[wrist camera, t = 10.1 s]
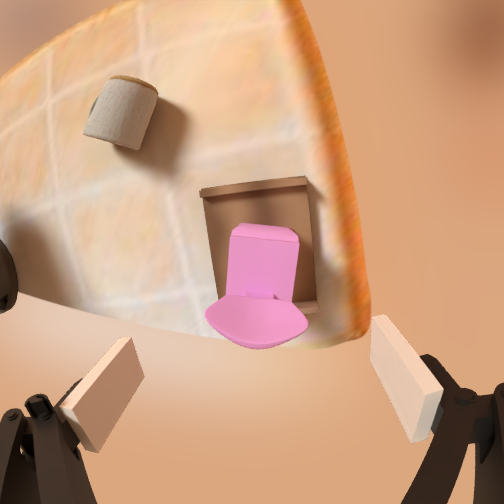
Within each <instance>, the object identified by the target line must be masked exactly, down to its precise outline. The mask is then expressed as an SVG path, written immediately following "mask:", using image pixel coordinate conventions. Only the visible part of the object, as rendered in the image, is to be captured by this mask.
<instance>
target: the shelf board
mask: <svg viewBox="0 0 504 504" xmlns="http://www.w3.org/2000/svg"><path fill="white" fill-rule="evenodd" d="M307 184H308V182H307V177H305V176H298V177H288V178H279V179H270V180H262V181H254V182H246V183H238V184H231V185H224V186H217V187H210V188H204V189H201V191H199V193H200V198H202V197H203V204H204V211H205V218H206V225H207V232H208V238H209V245H210V251H211V257H212V264H213V270H214V276H215V282H216V288H217V293H218V299H221V298H222V297H224V296H225V295H226V284H227V271H228V257H229V244H230V236H231V234H232V231H233V229H234V228H236V227H238V226H239V223H249V224H259V225H269V226H278V227H287V228H291V229H293V232H294V233H295V234H297V236H298V238H299V243H300V245H299V253H298V260H297V267H296V274H295V281H294V288H293V296H292V303H293V304H294V305H295V306H296V307H297V308H298V309H299V310H300V311H301V312H302V313H303V314H313V313H319V305H318V303H317V299H316V283H315V269H314V256H313V244H312V233H311V222H310V212H309V203H308V194H307Z"/></svg>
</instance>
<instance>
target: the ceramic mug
mask: <svg viewBox="0 0 504 504" xmlns="http://www.w3.org/2000/svg"><path fill="white" fill-rule="evenodd" d="M157 98H158V92H157V90H156V88H155V87H153V86H152V85H150V84H149V83H147V82H144V81H142V80H139V79H137V78H133V77H129V76H122V75H116V76H113V77H111V78H110V79H109V80H108V81H107V83H106V84H105V86H104V87H103V89H102V91H101V93H100V95H99V96H98V97H97V98H96V100H95V101H94V103H93V105H92V107H91V110H90V113H89V118H88V122H87V125H86V127H85V129H84V133H83V134H84V135H86V136H90V137H93V138H97V139H100V140H104V141H107V142H110V143H113V144H117V145H120V146H124V147H127V148H130V149H134V150H139V149H140V146H141V143H142V140H143V138H144V135H145V132H146V129H147V127H148V124H149V121H150V118H151V116H152V113H153V111H154V109H155V106H156V103H157Z"/></svg>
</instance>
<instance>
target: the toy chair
mask: <svg viewBox="0 0 504 504" xmlns="http://www.w3.org/2000/svg"><path fill="white" fill-rule="evenodd" d="M299 245H300V243H299V238H298V236H297V234H295V233H294V232H293V229H291V228H287V227H278V226H269V225H259V224H249V223H239V226H238V227H236V228H234V229H233V231H232V234H231V236H230V244H229V257H228V271H227V284H226V295H225V296H224V297H222V298H221V299H219V300H218V301H216V302H215V303H213V304H212V305H211V306H209V307H208V308H207V309H206V311H205V318H206V320H207V322H208V323H209V324H210V325H211V326H212V327H213V328H214V329H215V330H216V331H218V332H219V333H220V334H221V335H223V336H224V337H226V338H227V339H229V340H230V341H232V342H234V343H236V344H238V345H240V346H243V347H246V348H251V349H267V348H271V347H275V346H278V345H280V344H283V343H285V342H288V341H290V340H292V339H294V338H296V337H297V336H299V335H300V334H302V333H303V332H304V331H305V330H306V329H307V328H308V325H309V323H308V320H307V318H306V317H305V316H304V314H303V313H302V312H301V311H300V310H299V309H298V308H297V307H296V306H295V305H294V304H293V303H292V296H293V288H294V281H295V274H296V267H297V260H298V253H299Z"/></svg>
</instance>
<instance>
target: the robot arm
mask: <svg viewBox="0 0 504 504" xmlns="http://www.w3.org/2000/svg"><path fill="white" fill-rule="evenodd" d="M17 294H18V284H17V276H16V271H15V267H14V264H13V261H12V259H11V256H10V254H9V252H8V250H7V248H6V247H5V245H4V244H3V243H2V241H1V240H0V314H1V313H4V312H6V311H8V310H9V309H11V308H12V307H13V306H14V305H15V302H16V299H17ZM370 362H371V364H372V366H373V367H374V369H375V371H376V373H377V375H378V377H379V379H380V381H381V383H382V385H383V387H384V389H385V391H386V393H387V395H388V397H389V399H390V401H391V403H392V405H393V407H394V409H395V411H396V413H397V415H398V417H399V419H400V422H401V424H402V426H403V428H404V430H405V432H406V434H407V437H408V439H409V441H410V443H411V444H413V443H416V442H419V441H422V440H425V439H428V436H429V433H430V430H432V432H433V434H434V437H433V440H432V442H431V444H430V447H429V449H428V451H427V454H426V456H425V458H424V460H423V462H422V464H421V466H420V468H419V470H418V472H417V474H416V477H415V478H414V480H413V482H412V485H411V486H410V488H409V490H408V492H407V493H406V495H405V497H404V499H403V500H402V502H401V504H447V503H448V500H449V498H450V495H451V493H452V490H453V488H454V486H455V483H456V480H457V477H458V475H459V472H460V469H461V466H462V463H463V459H464V457H465V454H466V451H467V447H468V444H471V443H475V455H476V456H475V487H474V500H473V504H504V383H501V384H499V385H498V386H497V387H496V388H495V391H494V393H493V394H489V395H481V396H478V395H477V394H476V392H474V391H473V390H470V389H467V388H460V387H459V385H458V384H457V383H456V382H455V380H454V379H453V378H452V377H451V376H450V374H449V373H448V372H447V371H446V370H445V368H444V367H443V366H442V365H441V363H440V362H439V361H438V360H437V359H436V358H434V357H433V356H431V355H429V354H426V355H422V356H418V355H417V353H416V352H415V351H414V349H413V348H412V347H411V346H410V344H409V343H408V342H407V341H406V339H405V338H404V337H403V336H402V335H401V333H400V332H399V331H398V329H397V328H396V327H395V326H394V324H392V322H391V321H390V320H389V319H388V317H387V316H386V315H379V316H373V317H372V330H371V349H370ZM143 378H144V374H143V371H142V368H141V365H140V362H139V359H138V356H137V353H136V350H135V347H134V344H133V341H132V338H131V337H120V338H119V339H118V340H117V341H116V343H115V344H114V345H113V346H112V347H111V348H110V349H109V350H108V351H107V353H106V354H105V355H104V356H103V357H102V358H101V359H100V360H99V362H98V363H97V364H96V365H95V366H94V367H93V368H92V369H91V370H90V372H89V373H88V374H87V375H86V376H85V377H84V378H82V379H80V380H79V381H77V382H76V383H74V385H73V386H72V387H71V388H70V390H68V391H67V392H66V395H64V396H63V397H62V398H61V399H60V401H59V402H58V403H57V404H56V405H55V406H54V407H53V406H52V405H51V403H50V401H49V399H48V397H47V396H46V395H44V394H36V395H33V396H31V397H30V398H28V399H27V401H26V402H25V407H26V408H27V410H28V412H29V414H30V416H31V417H25V416H24V414H23V413H22V411H21V410H20V409H16V408H15V409H10V410H8V411H7V412H6V413H5V414H4V415H3V417H2V420H1V422H0V504H97V502H96V499H95V496H94V494H93V491H92V488H91V485H90V482H89V479H88V476H87V473H86V470H85V467H84V463H83V460H82V456H81V453H80V450H79V449H78V447H77V445H78V444H79V442H81V444H82V445H83V447H84V448H85V450H88V451H91V452H95V453H99V451H100V450H101V448H102V446H103V444H104V443H105V441H106V439H107V438H108V436H109V434H110V433H111V431H112V429H113V428H114V426H115V424H116V423H117V421H118V419H119V418H120V416H121V414H122V413H123V411H124V409H125V408H126V406H127V404H128V402H129V401H130V399H131V398H132V396H133V395H134V393H135V391H136V390H137V388H138V386H139V385H140V383H141V381H142V380H143ZM20 448H21V449H22V450H23V452H22V454H21V452H20Z"/></svg>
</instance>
